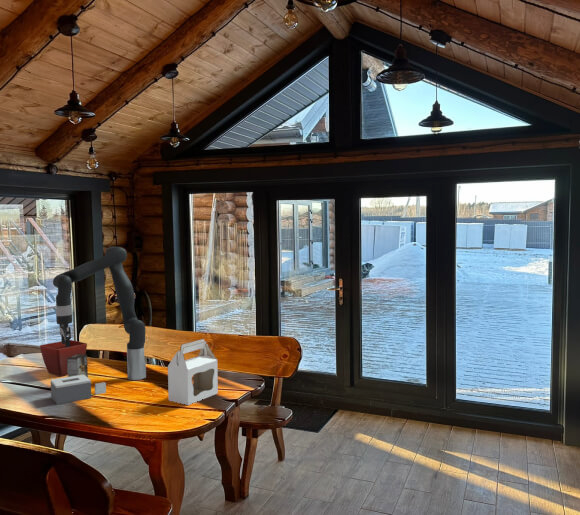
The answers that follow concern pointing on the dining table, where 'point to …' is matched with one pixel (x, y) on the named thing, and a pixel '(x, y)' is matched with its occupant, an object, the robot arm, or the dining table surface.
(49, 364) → the plant pot
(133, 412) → the dining table surface
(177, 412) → the dining table surface
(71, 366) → the coffee box
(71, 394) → the box
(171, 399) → the gable box
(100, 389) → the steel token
